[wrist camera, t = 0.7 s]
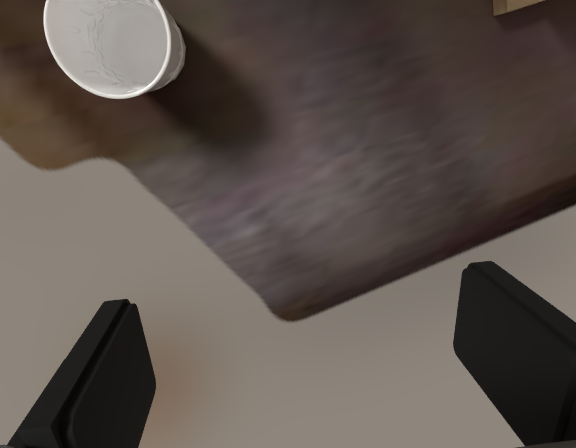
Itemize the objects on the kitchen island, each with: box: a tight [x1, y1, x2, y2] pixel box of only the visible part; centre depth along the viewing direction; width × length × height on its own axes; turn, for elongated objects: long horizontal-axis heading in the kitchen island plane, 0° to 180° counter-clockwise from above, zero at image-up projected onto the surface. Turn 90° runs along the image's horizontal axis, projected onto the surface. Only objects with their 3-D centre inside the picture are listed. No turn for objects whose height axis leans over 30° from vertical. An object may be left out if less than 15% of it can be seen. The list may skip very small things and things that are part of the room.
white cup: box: [44, 0, 186, 99], centre depth 28 cm, size 8×8×10 cm
